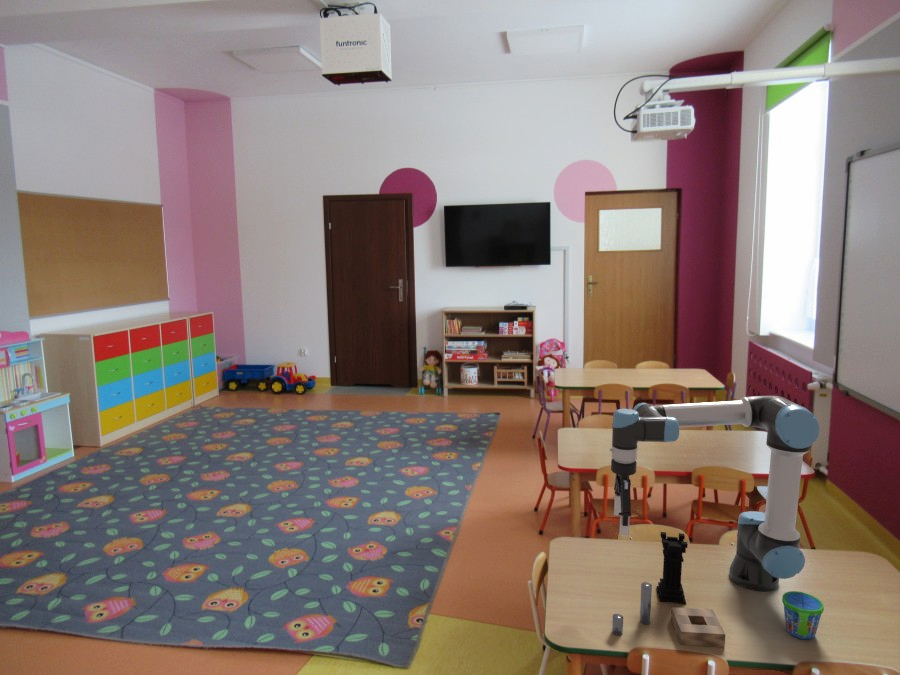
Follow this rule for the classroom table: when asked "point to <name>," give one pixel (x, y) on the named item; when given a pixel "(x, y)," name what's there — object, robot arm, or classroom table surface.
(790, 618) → the snack cup
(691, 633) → the hole block
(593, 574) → the classroom table surface
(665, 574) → the chess piece
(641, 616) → the long pin
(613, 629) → the short pin
